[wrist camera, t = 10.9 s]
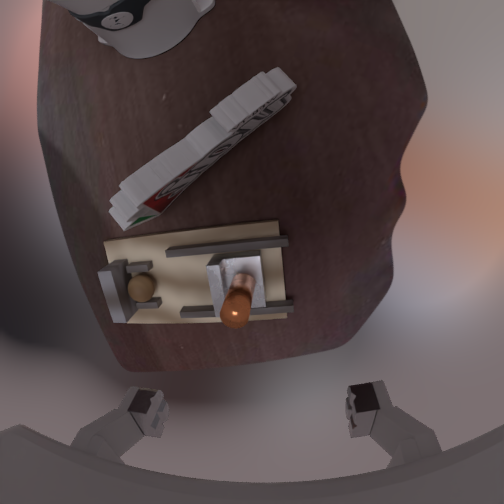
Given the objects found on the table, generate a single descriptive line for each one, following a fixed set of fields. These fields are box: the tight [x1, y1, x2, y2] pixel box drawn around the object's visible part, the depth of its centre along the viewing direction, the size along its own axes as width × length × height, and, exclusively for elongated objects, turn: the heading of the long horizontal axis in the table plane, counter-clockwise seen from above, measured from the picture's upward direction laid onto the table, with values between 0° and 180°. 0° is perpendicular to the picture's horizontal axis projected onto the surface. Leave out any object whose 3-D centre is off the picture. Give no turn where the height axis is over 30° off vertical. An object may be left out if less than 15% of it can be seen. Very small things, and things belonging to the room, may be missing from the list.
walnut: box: [128, 274, 155, 302], centre depth 39 cm, size 4×4×4 cm
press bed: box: [98, 219, 294, 323], centre depth 38 cm, size 14×27×6 cm, turn 97°
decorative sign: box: [109, 67, 297, 231], centre depth 29 cm, size 23×3×15 cm, turn 130°
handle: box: [206, 250, 267, 328], centre depth 34 cm, size 7×6×10 cm
